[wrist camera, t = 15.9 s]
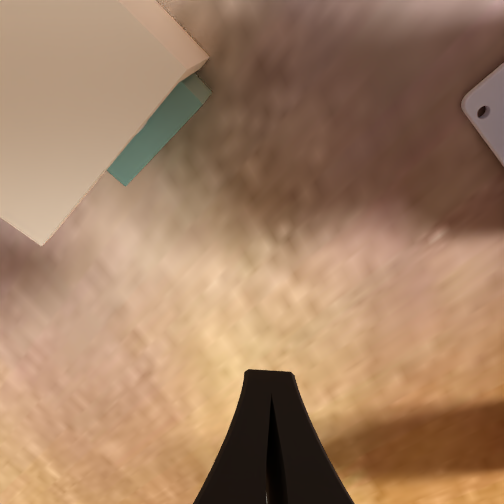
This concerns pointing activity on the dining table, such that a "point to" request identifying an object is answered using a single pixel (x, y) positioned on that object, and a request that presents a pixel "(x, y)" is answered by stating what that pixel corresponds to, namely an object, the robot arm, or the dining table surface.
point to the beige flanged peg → (78, 97)
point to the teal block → (160, 128)
